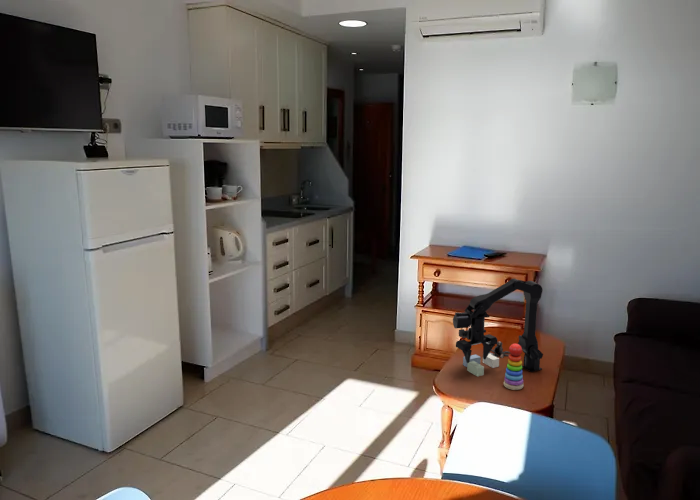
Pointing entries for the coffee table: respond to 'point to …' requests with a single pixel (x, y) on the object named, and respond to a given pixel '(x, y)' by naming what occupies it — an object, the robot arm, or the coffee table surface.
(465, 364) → the slate brick
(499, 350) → the stuffed animal
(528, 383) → the coffee table surface
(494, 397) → the coffee table surface
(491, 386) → the coffee table surface
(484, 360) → the cream brick
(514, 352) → the stacking toy
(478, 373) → the sage brick
